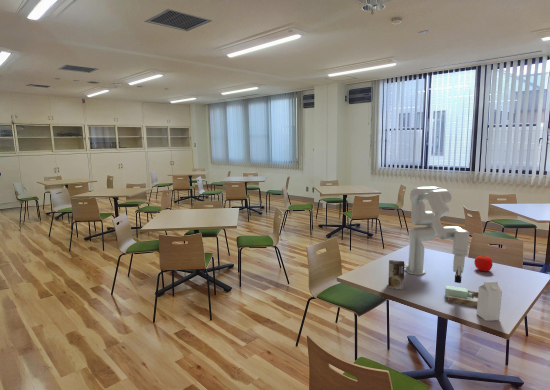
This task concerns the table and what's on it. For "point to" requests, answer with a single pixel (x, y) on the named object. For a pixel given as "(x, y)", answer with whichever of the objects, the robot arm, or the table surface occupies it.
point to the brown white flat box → (465, 300)
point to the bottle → (457, 292)
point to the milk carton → (489, 301)
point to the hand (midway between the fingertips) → (457, 282)
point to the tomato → (483, 263)
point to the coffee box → (396, 274)
